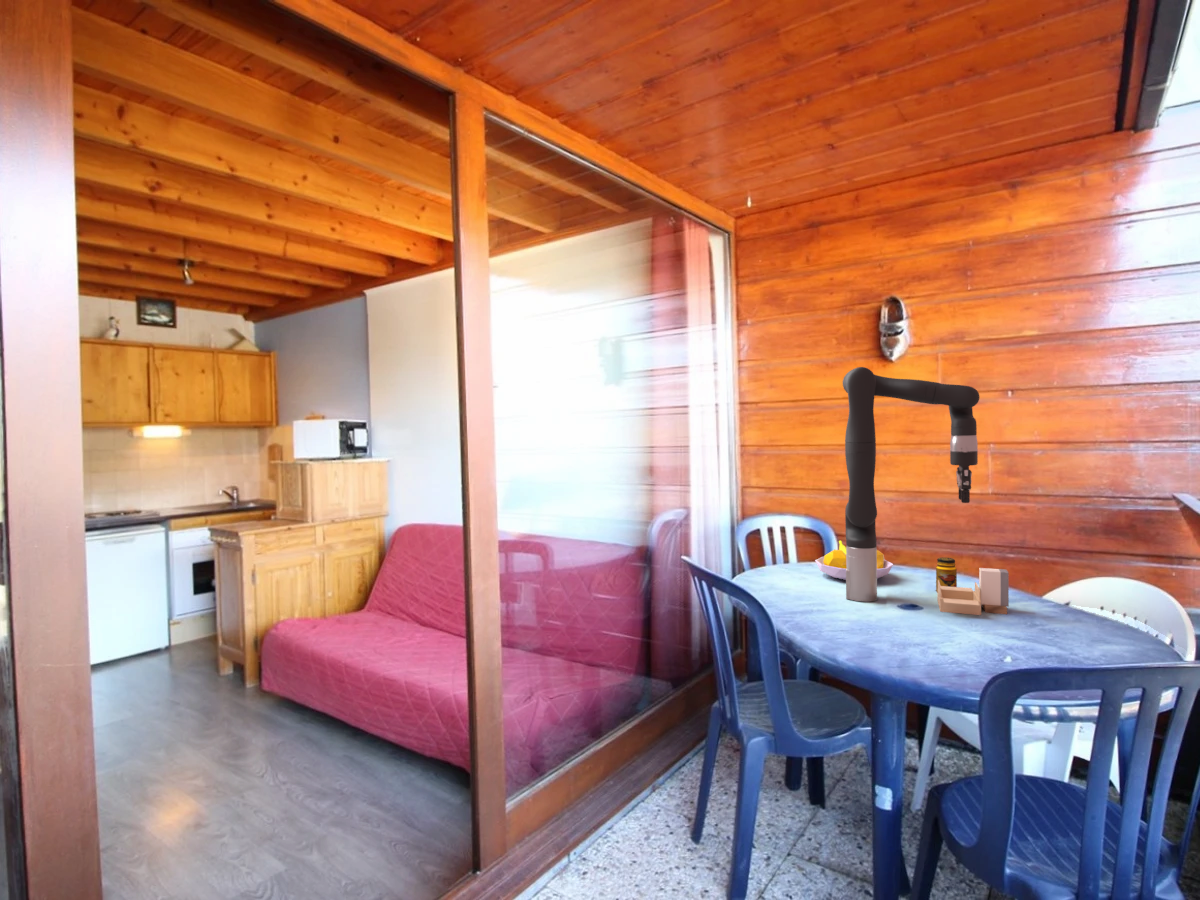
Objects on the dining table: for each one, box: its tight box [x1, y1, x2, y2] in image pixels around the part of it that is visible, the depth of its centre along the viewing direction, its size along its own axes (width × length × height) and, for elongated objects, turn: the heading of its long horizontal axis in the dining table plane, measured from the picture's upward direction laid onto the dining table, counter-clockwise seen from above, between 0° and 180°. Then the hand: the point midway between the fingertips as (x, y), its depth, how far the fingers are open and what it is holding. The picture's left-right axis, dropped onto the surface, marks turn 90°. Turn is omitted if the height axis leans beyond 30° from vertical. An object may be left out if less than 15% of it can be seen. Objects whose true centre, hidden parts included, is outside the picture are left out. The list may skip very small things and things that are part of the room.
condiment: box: [934, 557, 958, 593], centre depth 215 cm, size 7×8×12 cm
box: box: [978, 567, 1010, 607], centre depth 194 cm, size 7×4×10 cm, turn 65°
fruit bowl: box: [814, 540, 894, 581], centre depth 241 cm, size 28×27×11 cm
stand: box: [981, 604, 1008, 615], centre depth 194 cm, size 6×8×2 cm
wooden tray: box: [936, 580, 982, 616], centre depth 197 cm, size 11×21×8 cm, turn 156°
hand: (963, 501), depth 204 cm, fingers open, 8 cm apart
